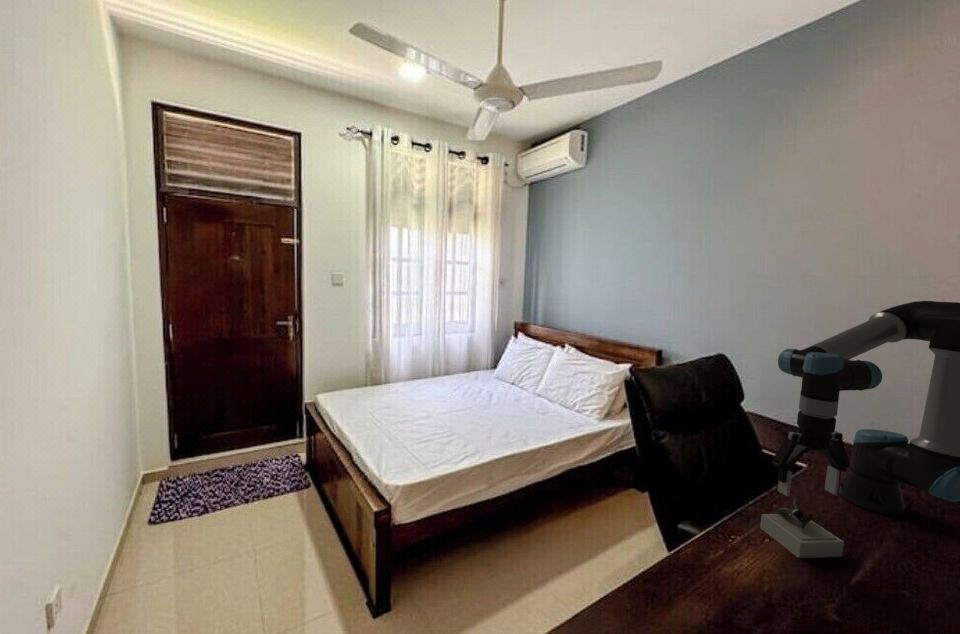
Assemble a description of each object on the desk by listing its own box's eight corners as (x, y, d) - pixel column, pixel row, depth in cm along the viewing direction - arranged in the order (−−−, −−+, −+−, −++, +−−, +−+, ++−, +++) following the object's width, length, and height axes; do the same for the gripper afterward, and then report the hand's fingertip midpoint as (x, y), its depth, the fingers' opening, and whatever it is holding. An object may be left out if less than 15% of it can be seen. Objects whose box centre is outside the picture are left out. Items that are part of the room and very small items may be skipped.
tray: (799, 527, 113) (801, 512, 113) (841, 556, 102) (844, 540, 101) (759, 527, 112) (761, 513, 112) (798, 558, 100) (800, 541, 100)
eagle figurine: (826, 526, 105) (801, 501, 113) (818, 506, 103) (792, 482, 112) (797, 538, 106) (774, 512, 115) (788, 518, 104) (765, 493, 113)
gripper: (845, 408, 108) (836, 484, 111) (760, 409, 106) (752, 486, 108) (876, 418, 101) (864, 499, 103) (785, 419, 98) (775, 502, 100)
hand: (807, 493), depth 106 cm, fingers open, 13 cm apart
